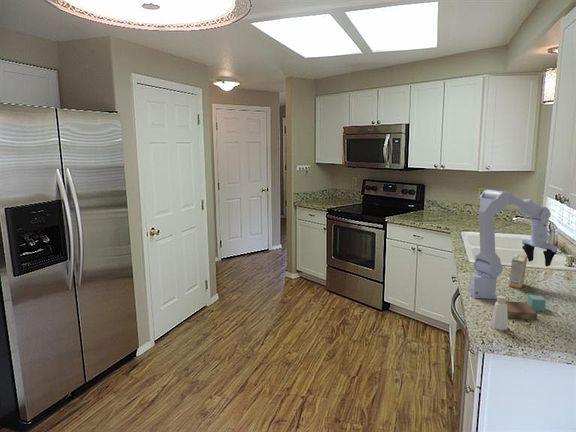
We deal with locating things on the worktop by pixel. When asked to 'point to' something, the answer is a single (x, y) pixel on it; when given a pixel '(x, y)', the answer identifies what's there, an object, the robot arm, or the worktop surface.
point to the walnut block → (520, 310)
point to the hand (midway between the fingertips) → (539, 263)
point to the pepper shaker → (500, 314)
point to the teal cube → (536, 302)
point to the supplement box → (518, 270)
